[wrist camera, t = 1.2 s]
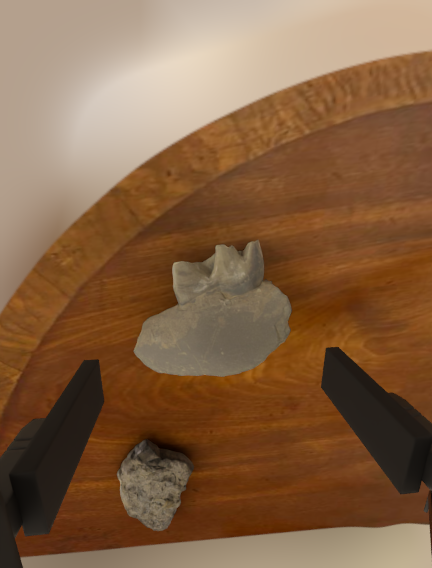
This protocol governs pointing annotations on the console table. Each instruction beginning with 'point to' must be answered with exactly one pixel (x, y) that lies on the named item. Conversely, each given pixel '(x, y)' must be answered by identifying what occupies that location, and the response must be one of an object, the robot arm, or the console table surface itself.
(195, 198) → the console table surface
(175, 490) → the stone
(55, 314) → the console table surface
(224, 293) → the fossil
